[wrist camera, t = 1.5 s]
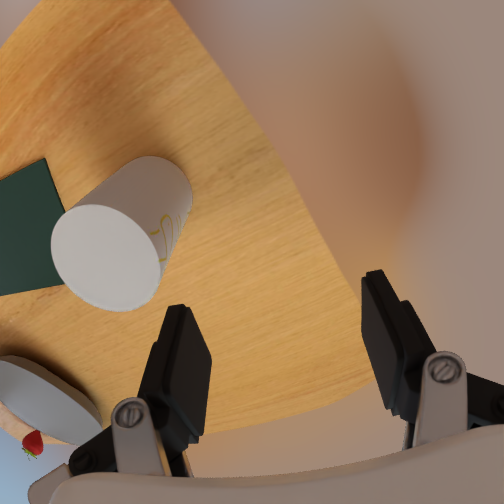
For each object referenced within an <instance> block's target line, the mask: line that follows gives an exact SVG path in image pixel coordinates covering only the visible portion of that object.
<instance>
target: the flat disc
mask: <svg viewBox="0 0 504 504" xmlns="http://www.w3.org/2000/svg"><path fill="white" fill-rule="evenodd" d="M0 401H1V402H2V403H3V404H4V405H5V406H6V407H7V408H8V409H9V410H10V411H11V412H12V413H14V414H15V415H16V416H17V417H19V418H20V419H21V420H23V421H24V422H26V423H27V424H29V425H30V426H32V427H33V428H35V429H37V430H39V431H40V432H42V433H44V434H46V435H48V436H50V437H53V438H55V439H58V440H60V441H63V442H66V443H70V444H73V445H78V446H81V445H83V444H84V443H86V442H87V441H89V440H90V439H92V438H93V437H95V436H96V435H97V434H99V433H100V432H102V431H103V429H102V419H101V415H100V413H99V412H97V408H96V407H95V406H94V404H93V402H91V401H90V400H89V399H88V398H87V397H86V396H85V395H84V394H82V393H81V392H80V391H78V390H77V389H75V388H73V387H72V386H70V385H68V384H67V383H66V382H64V381H63V380H61V379H60V378H59V377H58V376H56V375H54V374H52V373H51V372H50V371H47V370H46V369H45V368H44V367H42V366H40V365H38V364H37V363H35V362H32V361H30V360H28V359H26V358H23V357H17V356H14V355H8V356H3V357H0Z"/></svg>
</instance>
